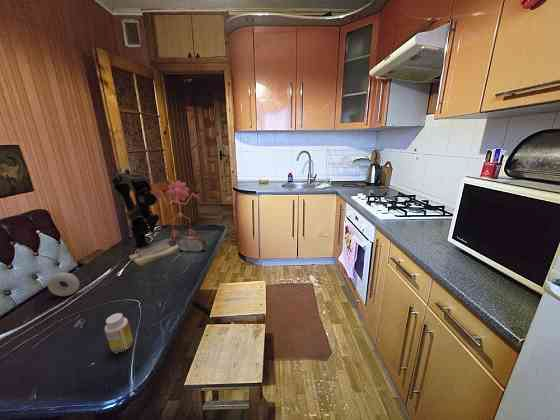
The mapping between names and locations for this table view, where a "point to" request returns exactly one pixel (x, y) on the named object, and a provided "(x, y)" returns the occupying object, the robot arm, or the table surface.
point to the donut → (66, 277)
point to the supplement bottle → (118, 333)
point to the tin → (191, 243)
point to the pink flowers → (178, 193)
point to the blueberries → (80, 323)
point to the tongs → (156, 247)
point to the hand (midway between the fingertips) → (148, 230)
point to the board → (153, 255)
